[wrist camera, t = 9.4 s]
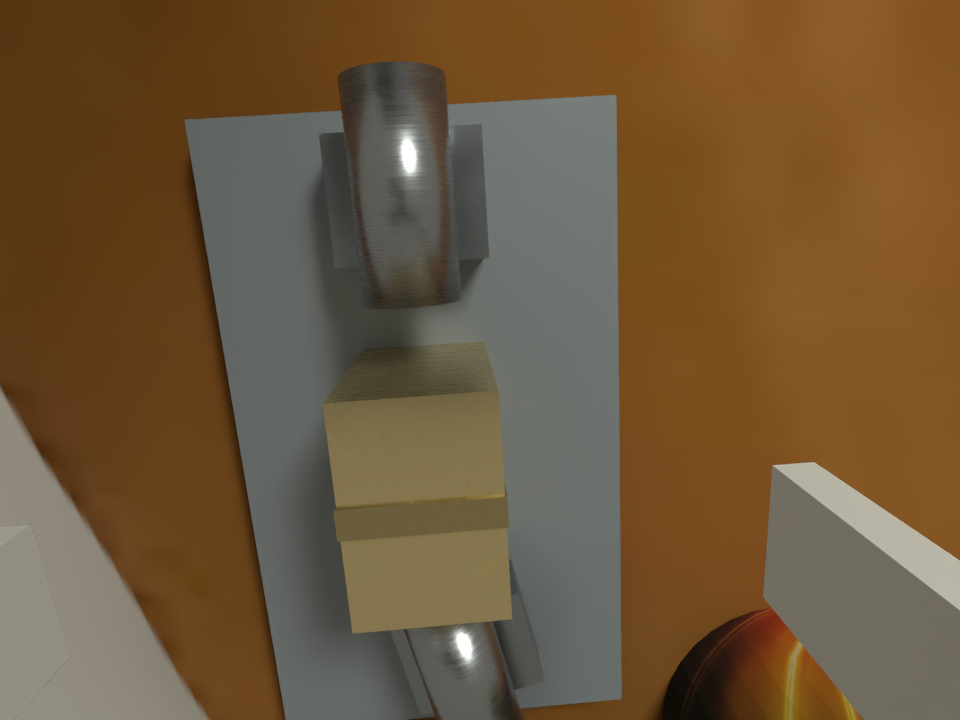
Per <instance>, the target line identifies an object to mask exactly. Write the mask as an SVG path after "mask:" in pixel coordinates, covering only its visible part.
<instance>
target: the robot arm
mask: <svg viewBox="0 0 960 720" xmlns="http://www.w3.org/2000/svg"><path fill="white" fill-rule="evenodd" d="M763 597H764V599H765V600H766V601H767V602H768V604H769V605H770V606H771V607H772V608H773V610H774V611H775V612H776V613H777V615H778V616H779V617H780V618H781V619H782V621H783V622H784V623H785V624H786V626H787V627H788V628H789V629H790V630H791V632H792V633H793V634H794V635H795V637H796V638H797V639H798V640H799V641H800V643H801V644H802V645H803V646H804V648H805V649H806V650H807V651H808V652H809V654H810V655H811V656H812V657H813V659H814V660H815V661H816V662H817V663H818V665H819V666H820V667H821V668H822V670H823V671H824V672H825V673H826V674H827V676H828V677H829V678H830V679H831V680H832V682H833V683H834V684H835V685H836V687H837V688H838V689H839V690H840V691H841V693H842V694H843V695H844V696H845V698H846V699H847V700H848V701H849V702H850V704H851V705H852V706H853V707H854V709H855V710H856V711H857V712H858V713H859V715H860V716H861V717H862V718H863V720H960V561H959V560H958V559H956V558H955V557H954V556H952V555H951V554H949V553H948V552H946V551H945V550H943V549H942V548H940V547H939V546H937V545H936V544H934V543H933V542H931V541H930V540H928V539H927V538H925V537H924V536H923V535H921V534H920V533H918V532H917V531H915V530H914V529H912V528H911V527H909V526H908V525H906V524H905V523H903V522H902V521H900V520H899V519H897V518H896V517H894V516H893V515H891V514H890V513H889V512H887V511H886V510H884V509H883V508H881V507H880V506H878V505H877V504H875V503H874V502H872V501H871V500H869V499H868V498H866V497H865V496H863V495H862V494H860V493H859V492H857V491H856V490H855V489H853V488H852V487H850V486H849V485H847V484H846V483H844V482H843V481H841V480H840V479H838V478H837V477H835V476H834V475H832V474H831V473H829V472H828V471H826V470H825V469H823V468H822V467H821V466H819V465H818V464H816V463H815V462H810V463H797V464H785V465H773V468H772V481H771V495H770V509H769V523H768V537H767V551H766V565H765V579H764V593H763ZM68 658H69V654H68V651H67V647H66V644H65V640H64V637H63V634H62V630H61V626H60V623H59V620H58V616H57V613H56V609H55V606H54V603H53V599H52V595H51V592H50V589H49V585H48V582H47V578H46V575H45V571H44V568H43V565H42V561H41V558H40V554H39V551H38V547H37V544H36V541H35V537H34V533H33V530H32V527H31V524H30V525H17V526H5V527H0V720H15V719H16V718H17V717H18V716H19V715H20V713H21V712H22V711H23V710H24V709H25V708H26V706H27V705H28V704H29V703H30V702H31V701H32V699H34V697H35V696H36V695H37V694H38V693H39V692H40V690H41V689H42V688H43V687H44V686H45V685H46V684H47V682H48V681H49V680H50V679H51V678H52V677H53V676H54V674H55V673H56V672H57V671H58V670H59V669H60V668H61V666H62V665H63V664H64V663H65V662H66V661H67V659H68Z"/></svg>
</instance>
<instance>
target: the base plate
mask: <svg viewBox="0 0 960 720" xmlns="http://www.w3.org/2000/svg"><path fill="white" fill-rule="evenodd" d="M448 119H449V126H456V125H473V124H482V140H483V157H484V174H485V191H486V208H487V225H488V242H489V258H483V259H469V260H459V273H460V287H461V300H459V301H456V302H453V303H448V304H443V305H436V306H428V307H419V308H406V309H369V308H364V307H363V302H362V293H361V284H360V275H359V267H349V268H335V266H334V257H333V249H332V241H331V232H330V224H329V216H328V207H327V199H326V191H325V182H324V174H323V166H322V157H321V149H320V141H319V134H320V133H337V132H344V130H343V121H342V112H341V111H327V112H310V113H293V114H275V115H258V116H240V117H223V118H205V119H188V120H184V121H185V127H186V133H187V139H188V144H189V150H190V156H191V162H192V168H193V174H194V180H195V186H196V192H197V198H198V204H199V210H200V215H201V221H202V227H203V233H204V239H205V245H206V251H207V257H208V263H209V269H210V275H211V280H212V286H213V292H214V298H215V304H216V310H217V316H218V322H219V328H220V334H221V340H222V346H223V351H224V357H225V363H226V369H227V375H228V381H229V387H230V393H231V399H232V405H233V411H234V417H235V422H236V428H237V434H238V440H239V446H240V452H241V458H242V464H243V470H244V476H245V482H246V488H247V493H248V499H249V505H250V511H251V517H252V523H253V529H254V535H255V541H256V547H257V553H258V558H259V564H260V570H261V576H262V582H263V588H264V594H265V600H266V606H267V612H268V618H269V624H270V629H271V635H272V641H273V647H274V653H275V659H276V665H277V671H278V677H279V683H280V689H281V695H282V700H283V706H284V712H285V718H286V720H407V719H417V718H428V717H435V715H434V712H433V713H430V714H426V715H423V716H421V713H420V710H419V708H418V705H417V702H416V700H415V697H414V694H413V691H412V689H411V686H410V683H409V681H408V678H407V675H406V672H405V670H404V667H403V664H402V662H401V659H400V656H399V653H398V651H397V648H396V645H395V643H394V640H393V637H392V634H391V632H390V630H387V631H376V632H365V633H354V634H353V633H352V625H351V618H350V610H349V603H348V595H347V587H346V580H345V572H344V564H343V557H342V549H341V542H337V536H336V528H335V521H334V513H333V510H334V508H335V506H336V503H335V496H334V488H333V481H332V473H331V465H330V458H329V450H328V443H327V435H326V427H325V420H324V412H323V404H322V403H323V402H324V401H325V399H326V398H327V397H328V395H329V394H330V393H331V391H332V390H333V389H334V387H335V386H336V385H337V383H338V382H339V381H340V379H341V378H342V377H343V375H344V374H345V373H346V371H347V370H348V369H349V367H350V366H351V365H352V363H353V362H354V361H355V359H356V358H357V357H358V355H359V354H360V353H361V351H362V350H366V349H380V348H394V347H408V346H422V345H436V344H450V343H464V342H477V341H484V343H485V346H486V350H487V353H488V356H489V359H490V363H491V366H492V369H493V372H494V376H495V379H496V382H497V385H498V389H499V399H500V416H501V434H502V451H503V468H504V483H505V487H506V492H507V497H508V513H509V528H507V537H508V555H509V560H510V559H511V560H512V563H513V566H514V570H515V573H516V576H517V580H518V583H519V586H520V590H521V593H522V596H523V600H524V603H525V606H526V610H527V613H528V616H529V620H530V623H531V627H532V630H533V633H534V637H535V640H536V644H537V649H538V654H539V659H540V663H541V668H542V673H543V678H544V682H541V683H538V684H534V685H531V686H527V687H523V688H520V689H516V690H515V693H516V696H517V699H518V702H519V705H520V709H522V708H532V707H543V706H553V705H563V704H574V703H584V702H595V701H605V700H616V699H622V669H621V558H620V447H619V336H618V226H617V115H616V95H607V96H589V97H572V98H554V99H537V100H519V101H502V102H485V103H467V104H450V105H448Z"/></svg>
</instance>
